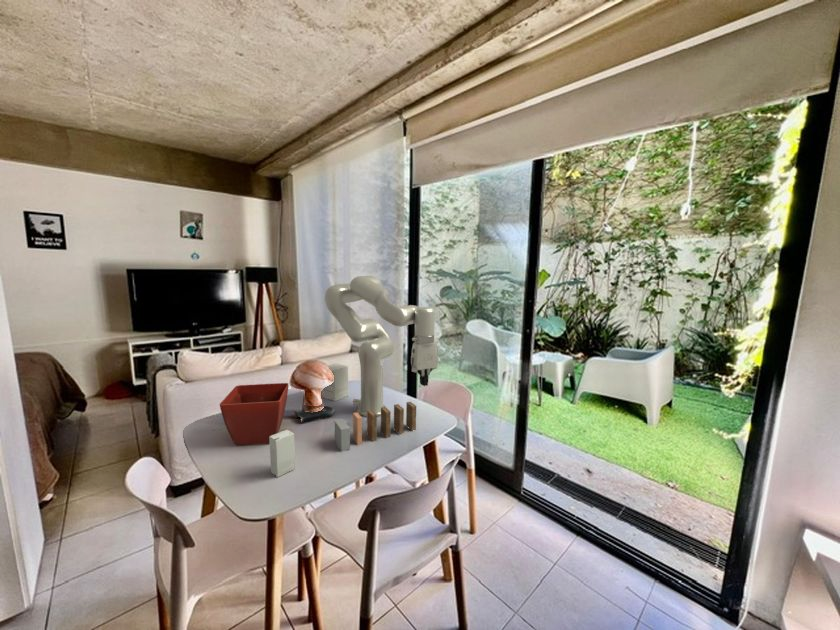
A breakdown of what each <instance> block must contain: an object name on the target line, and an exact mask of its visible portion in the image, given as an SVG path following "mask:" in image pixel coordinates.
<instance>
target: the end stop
mask: <svg viewBox="0 0 840 630" xmlns="http://www.w3.org/2000/svg"><path fill="white" fill-rule="evenodd" d="M333 423H334V442H335V444H336V445H338V446H337V447H338V449H339V450H340V452H341V453H342V452H346V451H349V450H351V437H350V436H351V428H350V426H349V425H348V423H347V422H346V421H345V420H344V419H343V418H339V419H334V422H333Z"/></svg>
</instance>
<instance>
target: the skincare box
mask: <svg viewBox="0 0 840 630" xmlns="http://www.w3.org/2000/svg"><path fill="white" fill-rule="evenodd" d="M269 442H270V443H269V454H270V455H269V459H270V472H271V473H272V472H273V473H274V474H275V475H276V477H277V478H279V477H281V476H283V475H285V474H288V473H289V471H290V472H292V471H293V470H296V452H295V449H296V448H295V446H296V445H295V433H294V432H292V431H291V430H289V429H286V430H283V431H280V432H278V433H277V434H274V435H272V436H269ZM291 470H292V471H291ZM273 473H272V474H273ZM274 474H273V475H274ZM275 475H274V476H275Z"/></svg>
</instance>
